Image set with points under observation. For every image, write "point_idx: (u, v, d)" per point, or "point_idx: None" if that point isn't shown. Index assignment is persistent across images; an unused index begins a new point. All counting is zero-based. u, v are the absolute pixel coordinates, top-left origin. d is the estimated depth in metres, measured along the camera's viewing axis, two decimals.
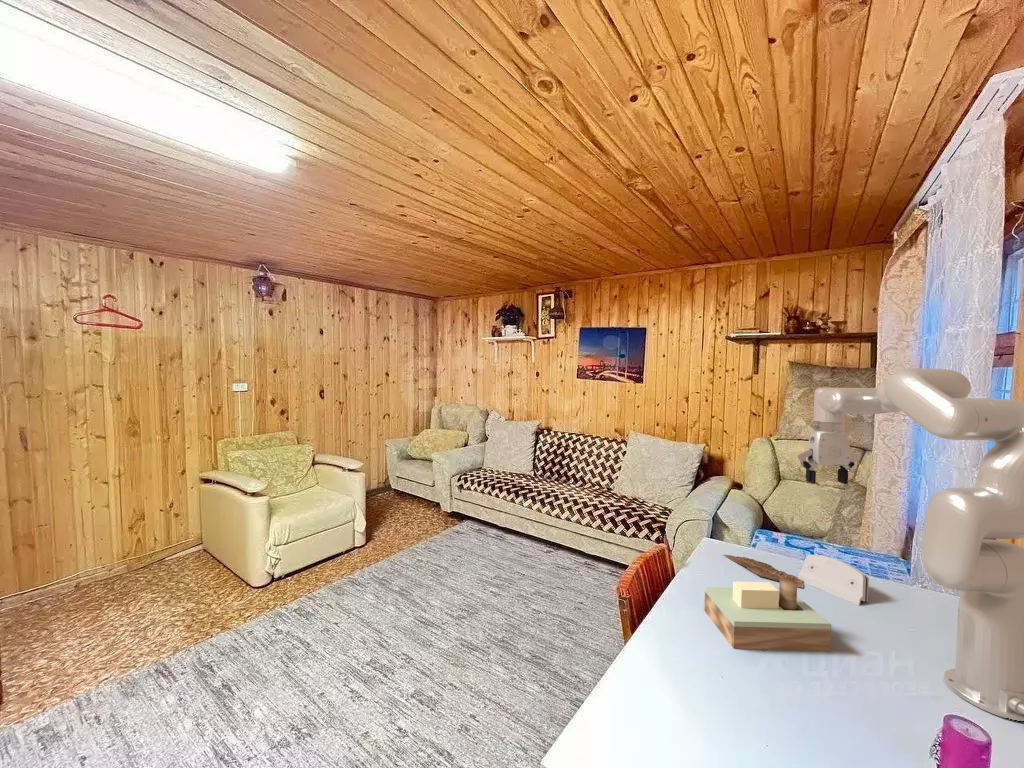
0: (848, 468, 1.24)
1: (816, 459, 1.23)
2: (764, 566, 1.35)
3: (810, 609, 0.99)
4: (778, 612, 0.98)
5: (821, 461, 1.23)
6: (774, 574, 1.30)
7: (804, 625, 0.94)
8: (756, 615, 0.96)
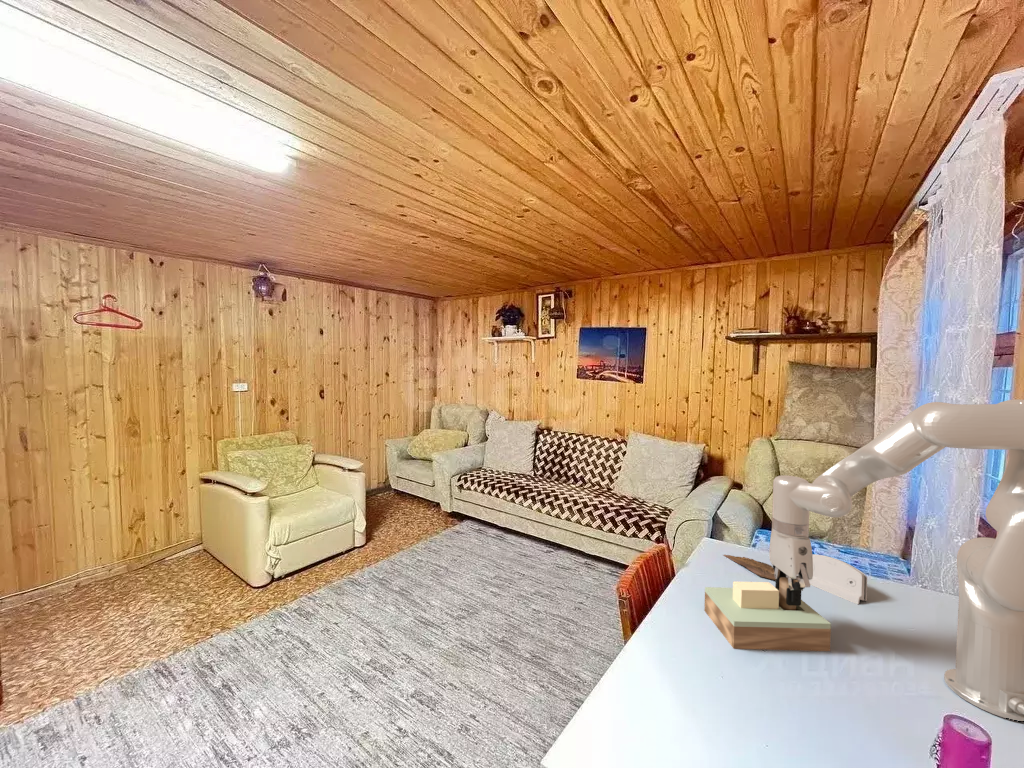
0: None
1: (812, 574, 0.96)
2: (764, 566, 1.35)
3: (810, 609, 0.99)
4: (778, 612, 0.98)
5: None
6: None
7: (804, 625, 0.94)
8: (756, 615, 0.96)
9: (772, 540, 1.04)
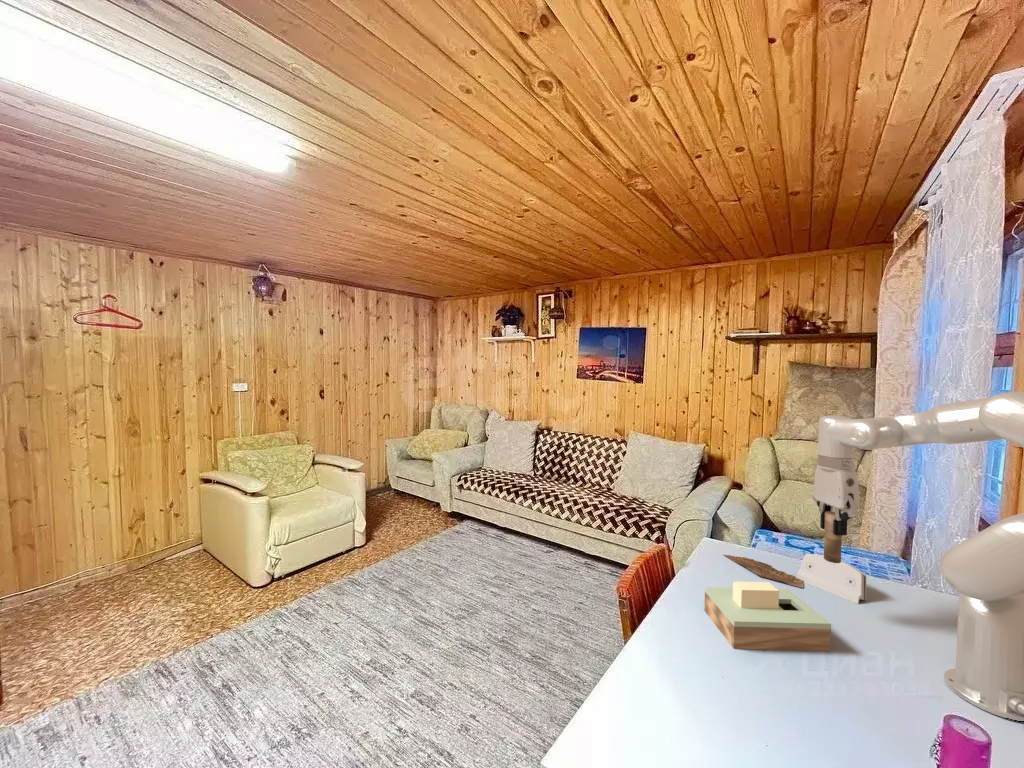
0: None
1: (858, 504, 1.02)
2: (764, 566, 1.35)
3: (810, 609, 0.99)
4: (778, 612, 0.98)
5: None
6: (774, 574, 1.30)
7: (804, 625, 0.94)
8: (756, 615, 0.96)
9: (817, 477, 1.10)
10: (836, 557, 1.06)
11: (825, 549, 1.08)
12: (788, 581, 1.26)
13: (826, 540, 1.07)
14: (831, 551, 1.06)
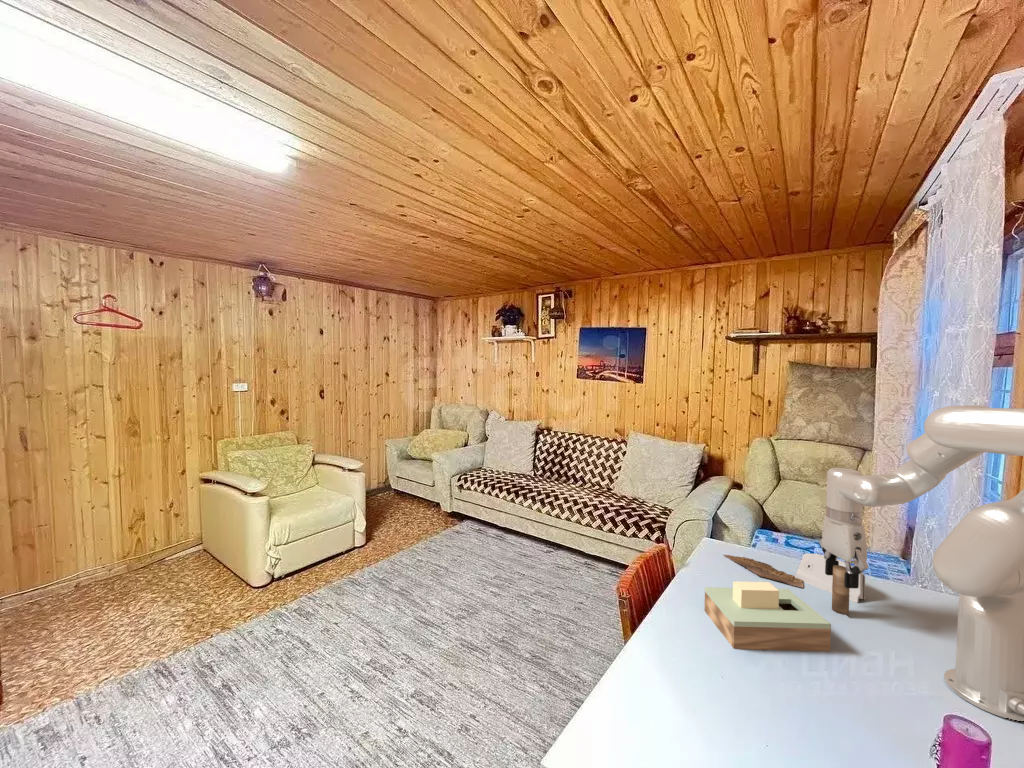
0: None
1: (866, 558, 1.04)
2: (764, 566, 1.35)
3: (810, 609, 0.99)
4: (778, 612, 0.98)
5: None
6: (774, 574, 1.30)
7: (804, 625, 0.94)
8: (756, 615, 0.96)
9: (825, 527, 1.12)
10: (844, 612, 1.08)
11: (833, 603, 1.10)
12: (788, 581, 1.26)
13: (834, 594, 1.10)
14: (839, 606, 1.08)
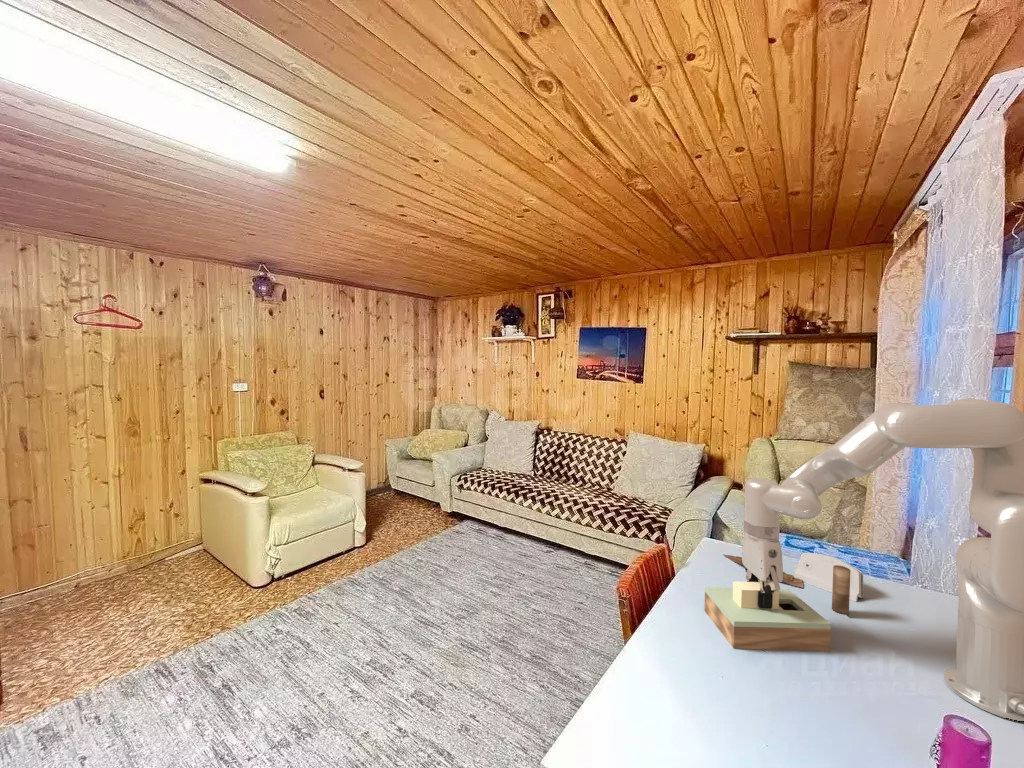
0: None
1: (782, 577, 0.96)
2: None
3: (810, 609, 0.99)
4: (778, 612, 0.98)
5: None
6: None
7: (804, 625, 0.94)
8: (756, 615, 0.96)
9: (744, 543, 1.04)
10: (844, 612, 1.08)
11: (833, 603, 1.10)
12: (788, 581, 1.26)
13: (834, 594, 1.10)
14: (839, 606, 1.08)
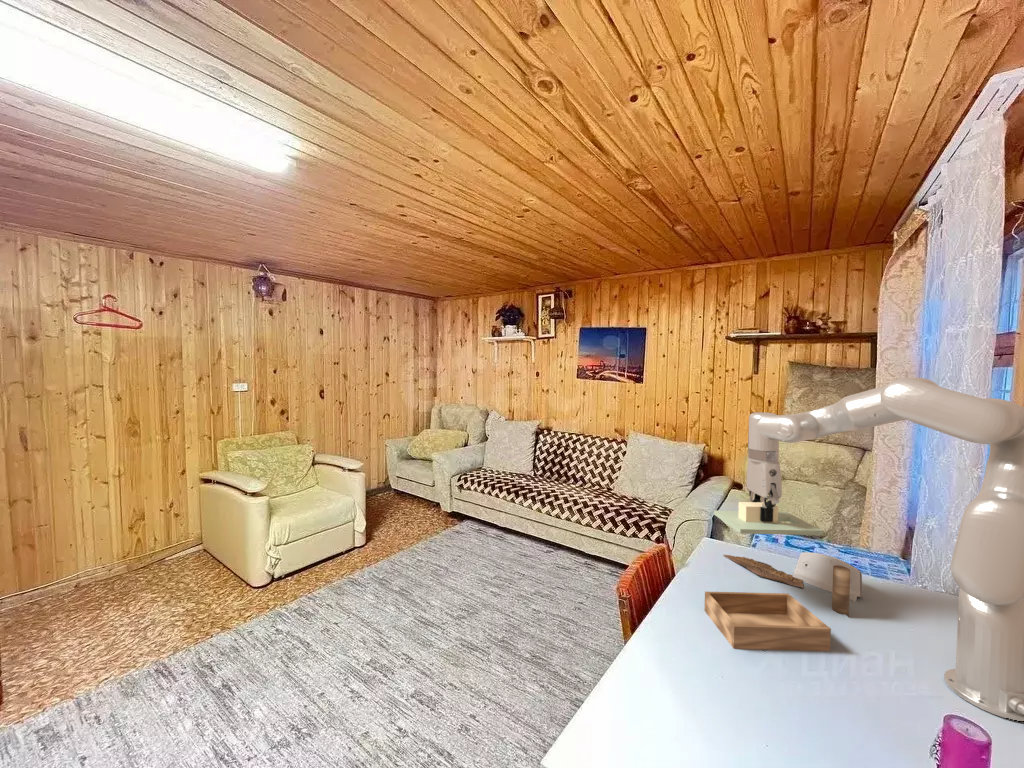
0: None
1: (781, 493, 1.12)
2: (764, 566, 1.35)
3: (805, 523, 1.15)
4: (777, 524, 1.14)
5: None
6: (774, 574, 1.30)
7: (800, 532, 1.10)
8: (759, 526, 1.13)
9: (748, 469, 1.20)
10: (844, 612, 1.08)
11: (833, 603, 1.10)
12: (787, 581, 1.26)
13: (834, 594, 1.09)
14: (839, 606, 1.08)
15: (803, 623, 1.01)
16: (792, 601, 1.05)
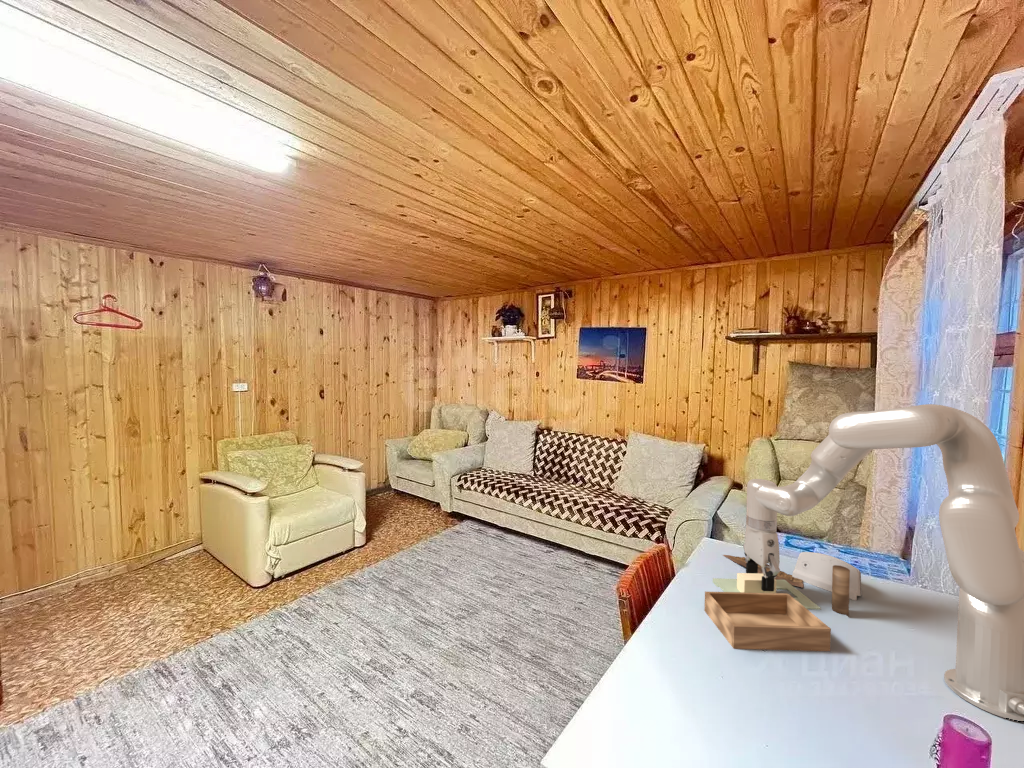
0: None
1: (778, 563, 1.13)
2: None
3: (803, 596, 1.16)
4: None
5: None
6: None
7: None
8: None
9: (746, 534, 1.21)
10: (844, 612, 1.08)
11: (833, 603, 1.10)
12: (787, 581, 1.26)
13: (834, 594, 1.09)
14: (839, 606, 1.08)
15: (803, 623, 1.01)
16: (792, 601, 1.05)
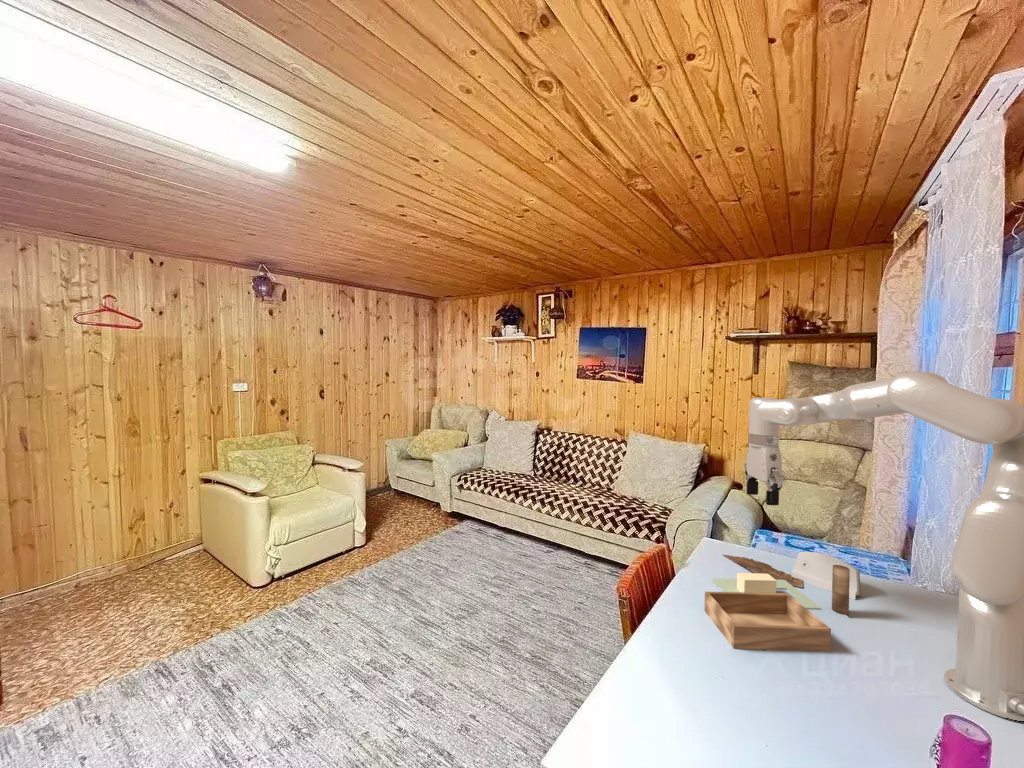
0: None
1: None
2: (763, 566, 1.35)
3: (803, 596, 1.16)
4: None
5: None
6: (773, 574, 1.30)
7: None
8: None
9: (749, 454, 1.20)
10: (844, 611, 1.08)
11: (833, 603, 1.10)
12: (787, 581, 1.26)
13: (834, 594, 1.10)
14: (839, 606, 1.08)
15: (803, 623, 1.01)
16: (792, 601, 1.05)
